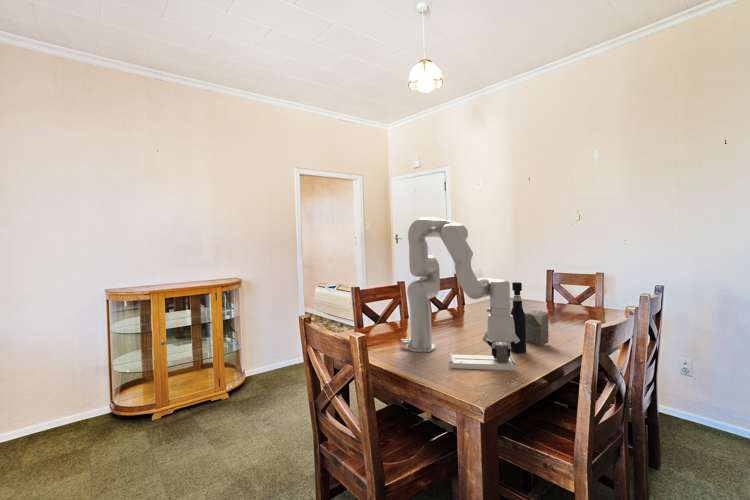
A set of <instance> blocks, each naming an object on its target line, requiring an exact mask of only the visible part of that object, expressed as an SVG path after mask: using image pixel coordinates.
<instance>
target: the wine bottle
mask: <svg viewBox="0 0 750 500" xmlns="http://www.w3.org/2000/svg"><path fill="white" fill-rule="evenodd" d="M522 284H523V283H522V282H518V281H517V282H512V283H511V285H512V286H511V287H512V291H513V297H512V299H513V300H512V308H511V310H510V314H511V315H512V316H513V319H514V327H515V334H516V335H517V337H518V338H519V340H520V341H519V342H518V343H516V344H515V345H514V346H513V347H512V348H511V349H510V353H513V354H517V355H518V354H520V355H522V354H526V353H527V340H526V319H525V314H524V312H525V311H524V309H523V300H522V296H521V292H522V290H523V285H522Z"/></svg>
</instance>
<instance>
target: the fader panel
mask: <svg viewBox="0 0 750 500" xmlns="http://www.w3.org/2000/svg"><path fill="white" fill-rule="evenodd" d="M449 356H450V362H449V363H450V369H466V370H467V369H468V370H469V369H470V370H473V369H474V370H493V371H495V370H497V371H498V370H499V371H516V370H517V363H516V361H515V359H514V357H513V355H512V354H511V353H510V356H509V359H508V362H497V361H496V359H494V356H492V355H484V354H483V355H481V354H479V355H478V354H477V355H476V354H475V355H474V354H453V352H450V355H449Z"/></svg>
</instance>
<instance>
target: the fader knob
mask: <svg viewBox="0 0 750 500" xmlns="http://www.w3.org/2000/svg"><path fill="white" fill-rule="evenodd" d="M495 348H496V361H497V362H508V349H507V344H506V342H496V343H495Z"/></svg>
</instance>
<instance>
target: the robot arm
mask: <svg viewBox="0 0 750 500" xmlns="http://www.w3.org/2000/svg"><path fill="white" fill-rule="evenodd" d="M468 236H469V232H468V229H467V228H466V226H465V225H463V224H462V223H458V222H454V221H450V220H446V219H443V218H439V217H421V218H418V219H416V220H414V221H413V222H412V223H411V224H410V225H409V228H408V231H407V241H408V251H409V252H408V255H409V258H408V259H409V260H408V262H409V272H410V274H411V275H412V276H414V277H416V278H420V279H416V280H414V281H412V282H410V284H408V286H407V290H406V291H407V292H406V294H407V299H408V302H409V303H408V304H409V320H410V323H409V324H410V338H408V339H407V338H401V344H403V345H407V350H409V351H410V352H415V353H431V352H433V351H435V349H436V345H435V343H434V344H433V342H432V341H433V339H432V311H431V310H432V309H431V305H430V302H429V299H432V298H435V297H436V296H438V294H439V293H440V288H441V277H440V275H441V274H440V264H439V261H438V260H437V258H436V257H435V256H434V255H430V254H429V247H428V242H427V240H426V238H431V237H432V238H434V237H435V238H436V237H437V238H440V239H441V241H442V243H443V245H444V246H445V248H446V251H448V253H449V255H450V257H451V259H452V261H453V262H454V270H455V276H456V279H457V281H458V283H459V285H460V287H461V288H462V290H463V292H464V293H465V295H466V296H467V297H468V298H470V299H472V300H479V299H482V298H485V297H489V307H488V308H485V310H486V311H485V312H486V313H489V314H488V315H487V320H486V321H487V323H486V326H487V327H486V332H485V333H484V335H483V336H482V338H481V341H483V342H484V343H486V344H488V346H490V347H491V356H494V359H496V348H495V343H496V342H505V343H506V345H507V349H508V359H509V356H510V354H511V348H512V347H513V346H514V345H515V344H516V343H518V342H519V341H520V340H519V338H518V337H517V335H516V334H515V327H514V319H513V316H512V315H511V283H510V282H509V281H508V280H507V279H493V278H489V277H488V278H487V277H479V278H477V277H476V274H475V273H474V270H473V269H472V263H471V262H472V260H473V256H474V255H473V254H474V253H473V250H472V249H471V247H470V246H469V244H468V241H467V239H468Z"/></svg>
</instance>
